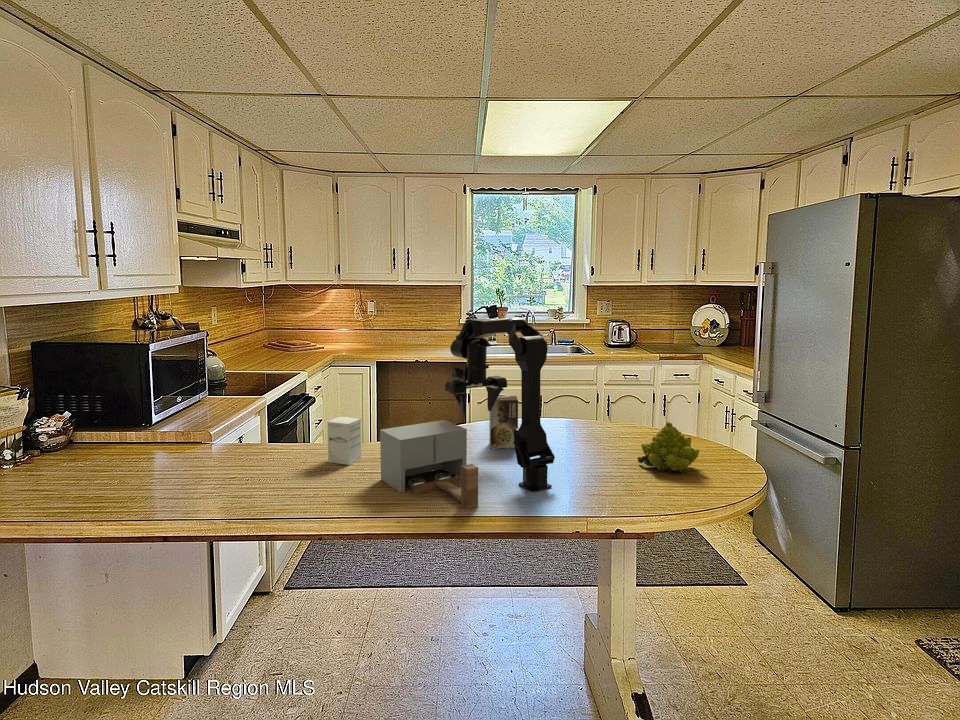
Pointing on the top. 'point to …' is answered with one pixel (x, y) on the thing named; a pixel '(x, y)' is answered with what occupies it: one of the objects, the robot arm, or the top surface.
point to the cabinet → (421, 450)
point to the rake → (465, 493)
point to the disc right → (442, 476)
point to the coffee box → (503, 422)
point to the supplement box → (344, 440)
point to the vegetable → (669, 451)
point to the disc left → (415, 481)
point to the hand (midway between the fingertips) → (476, 412)
